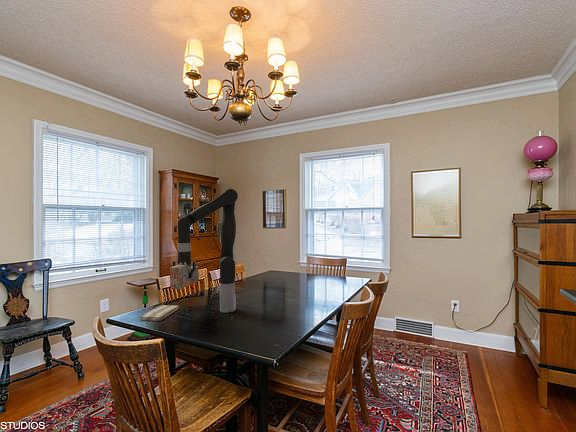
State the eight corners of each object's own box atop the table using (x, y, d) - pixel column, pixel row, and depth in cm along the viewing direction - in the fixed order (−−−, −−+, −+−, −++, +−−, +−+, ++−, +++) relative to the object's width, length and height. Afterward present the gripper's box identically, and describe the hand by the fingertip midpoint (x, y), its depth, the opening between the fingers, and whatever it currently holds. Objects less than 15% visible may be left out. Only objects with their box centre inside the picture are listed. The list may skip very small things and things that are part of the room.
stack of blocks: (189, 280, 188) (189, 261, 188) (198, 281, 187) (198, 261, 187) (169, 288, 167) (169, 267, 167) (180, 289, 166) (179, 267, 166)
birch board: (178, 308, 188) (178, 305, 188) (160, 320, 166) (160, 317, 166) (160, 308, 189) (160, 305, 189) (140, 320, 167) (140, 316, 167)
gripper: (198, 249, 180) (198, 277, 179) (175, 249, 181) (176, 277, 181) (193, 251, 172) (193, 280, 172) (169, 251, 173) (169, 279, 173)
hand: (184, 278), depth 176 cm, fingers closed on stack of blocks, 6 cm apart
